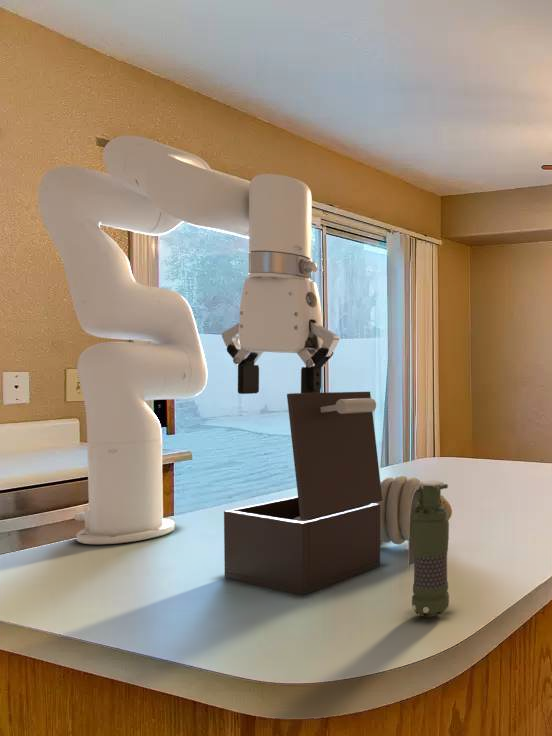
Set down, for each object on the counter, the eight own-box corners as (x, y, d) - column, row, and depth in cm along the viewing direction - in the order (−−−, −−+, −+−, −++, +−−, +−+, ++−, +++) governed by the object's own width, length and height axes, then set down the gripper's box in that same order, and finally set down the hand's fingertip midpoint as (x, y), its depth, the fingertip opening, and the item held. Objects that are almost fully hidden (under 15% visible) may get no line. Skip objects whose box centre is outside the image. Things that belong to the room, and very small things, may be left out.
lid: (286, 394, 72) (318, 388, 70) (366, 392, 83) (395, 387, 81) (300, 520, 72) (332, 518, 69) (378, 500, 83) (408, 499, 81)
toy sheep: (447, 554, 89) (448, 481, 88) (329, 557, 86) (329, 482, 86) (455, 536, 99) (455, 470, 99) (350, 538, 97) (350, 471, 97)
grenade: (456, 610, 68) (456, 480, 67) (434, 624, 64) (434, 486, 63) (424, 605, 69) (424, 478, 69) (401, 618, 65) (401, 483, 65)
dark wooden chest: (224, 577, 78) (223, 511, 77) (306, 552, 89) (306, 494, 89) (303, 595, 72) (302, 523, 71) (380, 565, 83) (380, 503, 83)
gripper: (353, 275, 83) (352, 396, 84) (245, 274, 86) (245, 391, 87) (319, 265, 76) (318, 398, 77) (202, 265, 79) (202, 393, 80)
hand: (279, 394), depth 82 cm, fingers open, 9 cm apart
